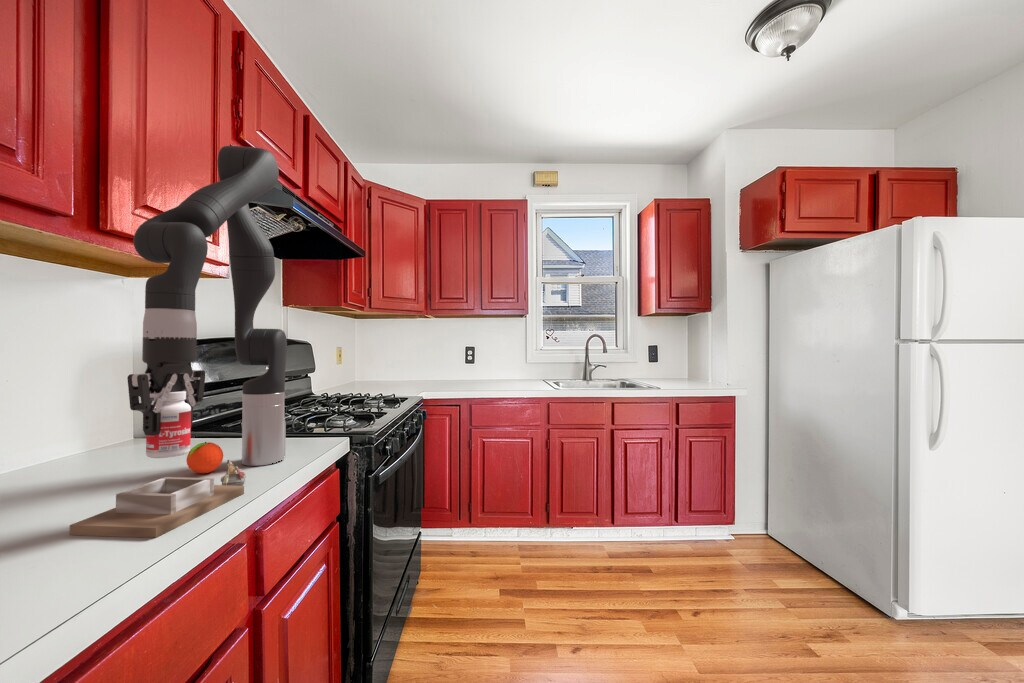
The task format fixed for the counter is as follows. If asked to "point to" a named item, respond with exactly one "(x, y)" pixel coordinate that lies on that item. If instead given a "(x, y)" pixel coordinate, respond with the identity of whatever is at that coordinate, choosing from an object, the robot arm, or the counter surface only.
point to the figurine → (233, 476)
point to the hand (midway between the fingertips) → (169, 430)
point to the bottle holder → (157, 507)
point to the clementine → (204, 458)
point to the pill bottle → (171, 428)
